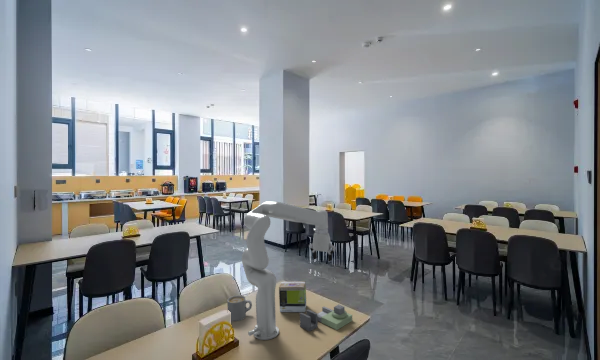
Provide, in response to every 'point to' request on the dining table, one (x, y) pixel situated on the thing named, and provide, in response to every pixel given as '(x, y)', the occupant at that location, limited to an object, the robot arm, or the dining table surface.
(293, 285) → the tea box
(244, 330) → the dining table surface
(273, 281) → the robot arm
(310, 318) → the chute
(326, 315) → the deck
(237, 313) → the coffee mug
